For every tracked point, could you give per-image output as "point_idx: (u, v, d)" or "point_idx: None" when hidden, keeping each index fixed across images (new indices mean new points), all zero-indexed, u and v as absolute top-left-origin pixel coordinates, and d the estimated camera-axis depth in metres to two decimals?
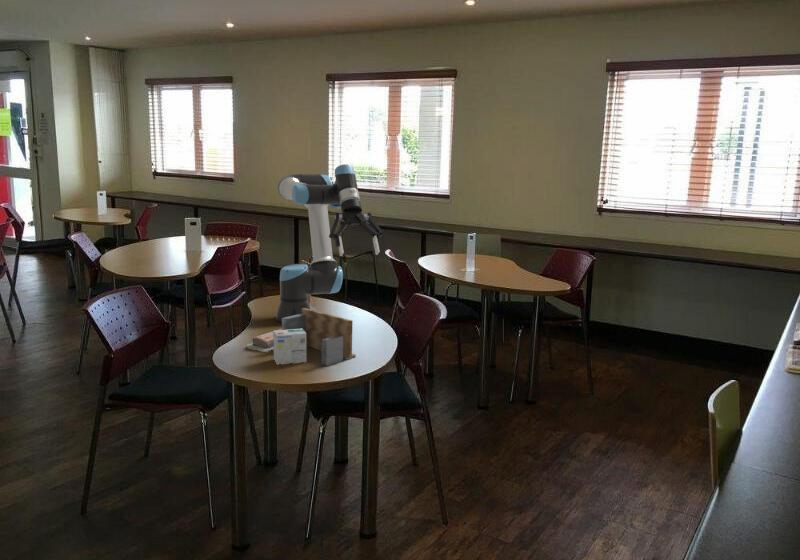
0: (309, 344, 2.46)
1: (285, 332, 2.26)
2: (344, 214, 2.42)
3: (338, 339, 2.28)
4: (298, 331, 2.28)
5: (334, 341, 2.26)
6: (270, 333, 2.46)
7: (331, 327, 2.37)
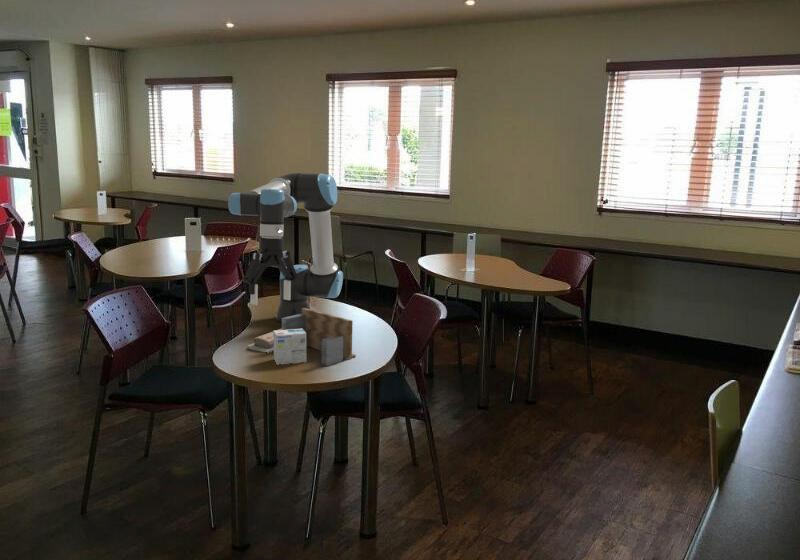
0: (309, 344, 2.46)
1: (285, 332, 2.26)
2: (264, 255, 2.10)
3: (338, 339, 2.28)
4: (298, 331, 2.28)
5: (334, 341, 2.26)
6: (271, 334, 2.46)
7: (331, 327, 2.37)
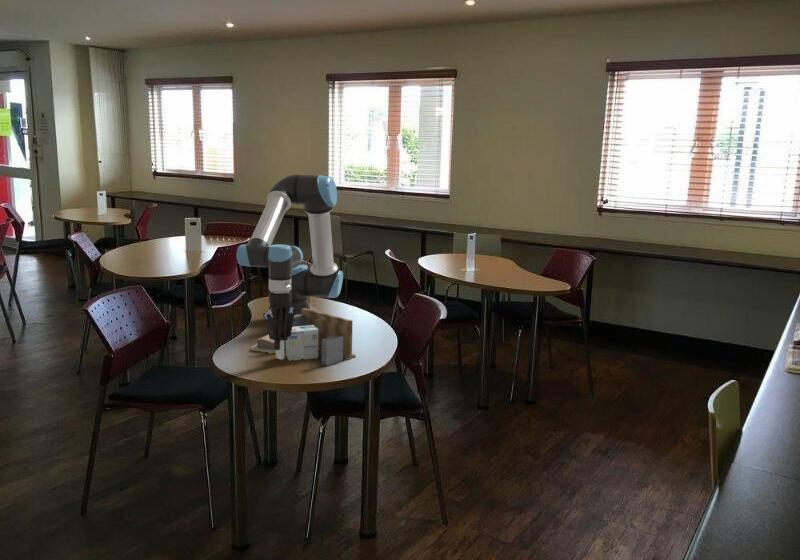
0: None
1: (297, 328, 2.30)
2: (273, 310, 2.19)
3: (338, 339, 2.28)
4: (310, 327, 2.32)
5: (334, 341, 2.26)
6: None
7: (331, 327, 2.37)
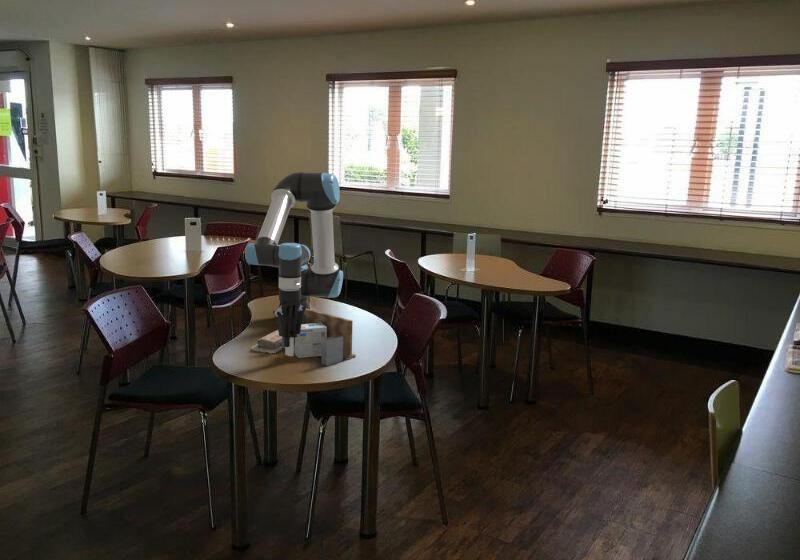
0: None
1: (306, 326, 2.33)
2: (283, 307, 2.22)
3: (338, 339, 2.28)
4: (318, 325, 2.35)
5: (334, 341, 2.26)
6: (272, 334, 2.45)
7: (331, 327, 2.37)
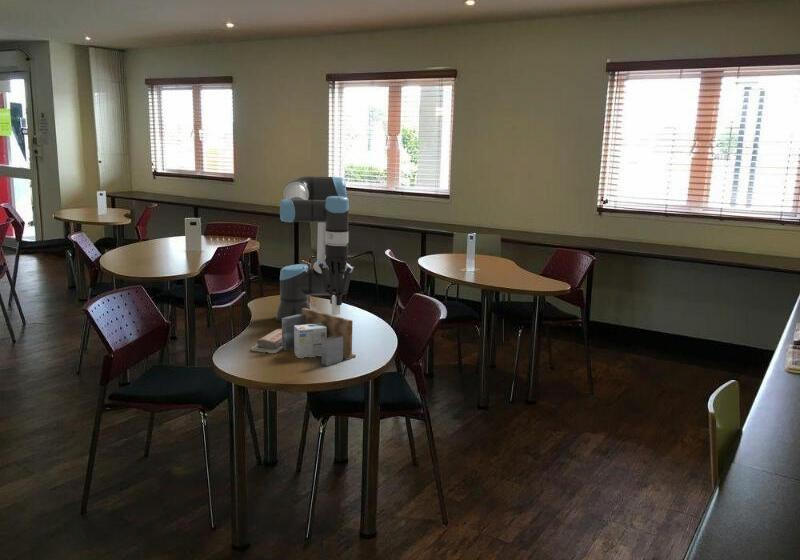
0: None
1: (306, 327, 2.33)
2: (325, 261, 2.17)
3: (338, 339, 2.28)
4: (318, 325, 2.35)
5: (334, 341, 2.26)
6: (272, 334, 2.45)
7: (331, 327, 2.37)
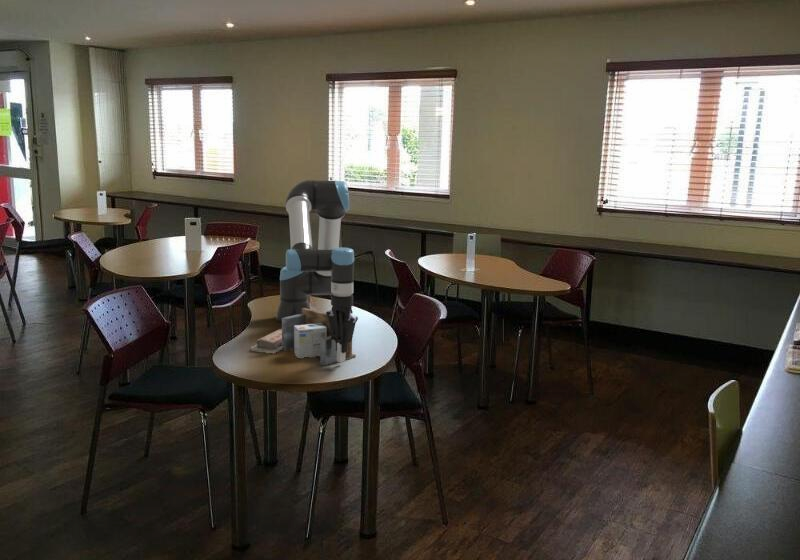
0: None
1: (306, 327, 2.33)
2: (332, 309, 2.24)
3: None
4: (318, 325, 2.35)
5: (333, 341, 2.27)
6: (272, 335, 2.45)
7: None
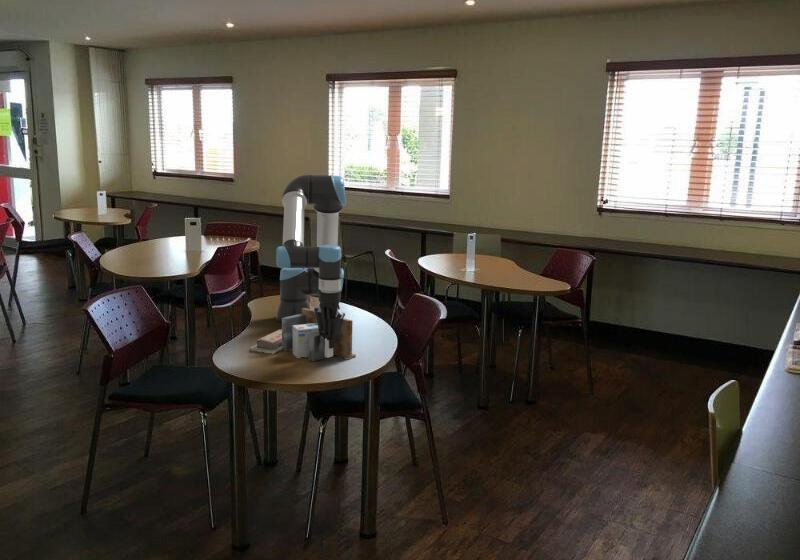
0: None
1: (305, 326, 2.33)
2: (320, 305, 2.27)
3: None
4: (317, 325, 2.36)
5: (321, 337, 2.30)
6: (272, 335, 2.45)
7: None
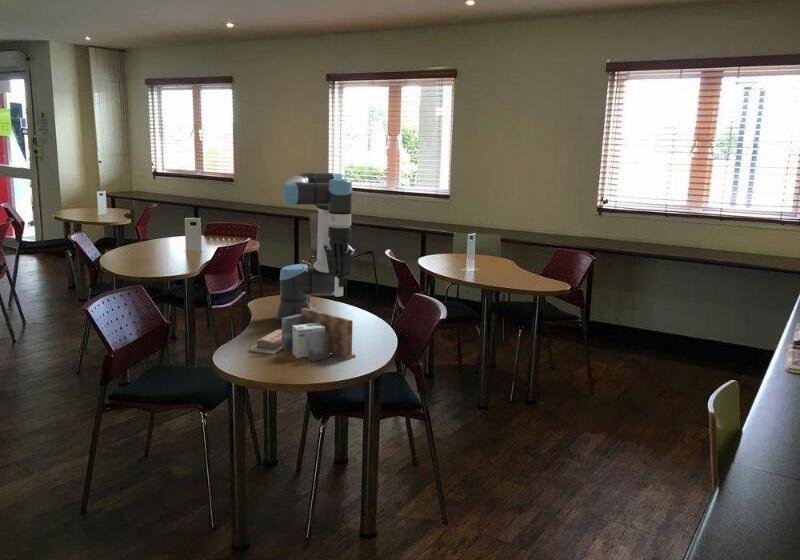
0: None
1: (305, 326, 2.33)
2: (329, 242, 2.20)
3: (325, 335, 2.32)
4: (317, 325, 2.36)
5: (321, 337, 2.30)
6: (271, 335, 2.44)
7: (331, 327, 2.37)
